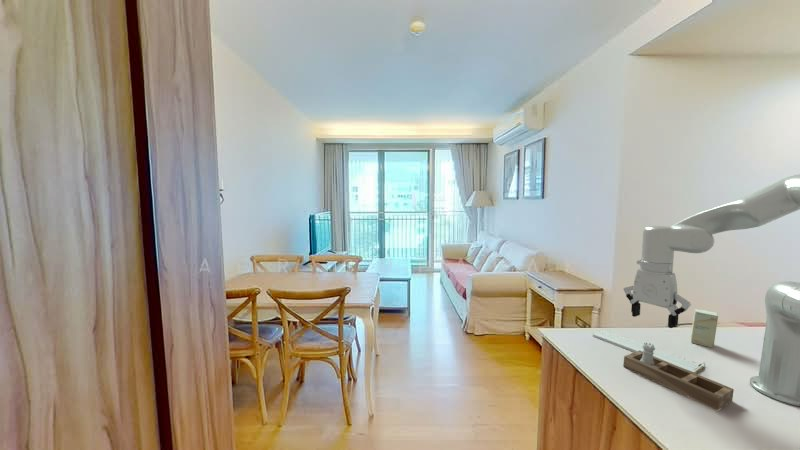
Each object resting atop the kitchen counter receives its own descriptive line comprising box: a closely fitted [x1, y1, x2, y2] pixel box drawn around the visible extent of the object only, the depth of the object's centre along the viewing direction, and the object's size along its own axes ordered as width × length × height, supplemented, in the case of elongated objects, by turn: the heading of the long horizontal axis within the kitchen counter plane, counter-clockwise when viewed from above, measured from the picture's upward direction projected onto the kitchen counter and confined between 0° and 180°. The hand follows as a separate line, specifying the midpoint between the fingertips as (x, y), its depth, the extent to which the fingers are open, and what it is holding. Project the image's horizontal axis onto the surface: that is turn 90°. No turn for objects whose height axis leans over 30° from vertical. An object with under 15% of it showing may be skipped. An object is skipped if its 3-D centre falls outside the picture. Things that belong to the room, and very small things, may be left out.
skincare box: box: [690, 308, 719, 349], centre depth 118 cm, size 6×4×12 cm
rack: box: [622, 350, 735, 412], centre depth 94 cm, size 9×23×4 cm, turn 26°
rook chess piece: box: [639, 342, 656, 366], centre depth 100 cm, size 4×4×8 cm
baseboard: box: [592, 329, 706, 374], centre depth 113 cm, size 30×3×10 cm
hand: (653, 321), depth 98 cm, fingers open, 9 cm apart
